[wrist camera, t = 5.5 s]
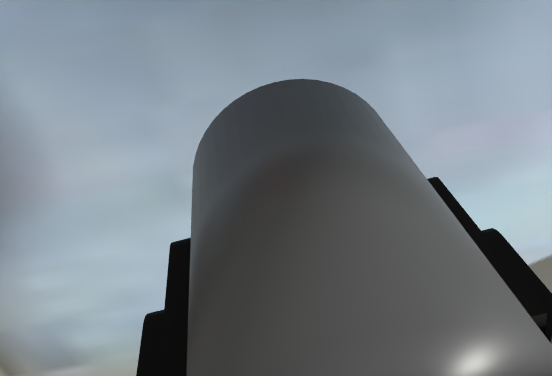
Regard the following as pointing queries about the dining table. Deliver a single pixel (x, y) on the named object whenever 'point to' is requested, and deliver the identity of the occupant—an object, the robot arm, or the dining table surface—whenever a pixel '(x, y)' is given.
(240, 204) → the plug
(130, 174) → the dining table surface
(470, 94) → the dining table surface
